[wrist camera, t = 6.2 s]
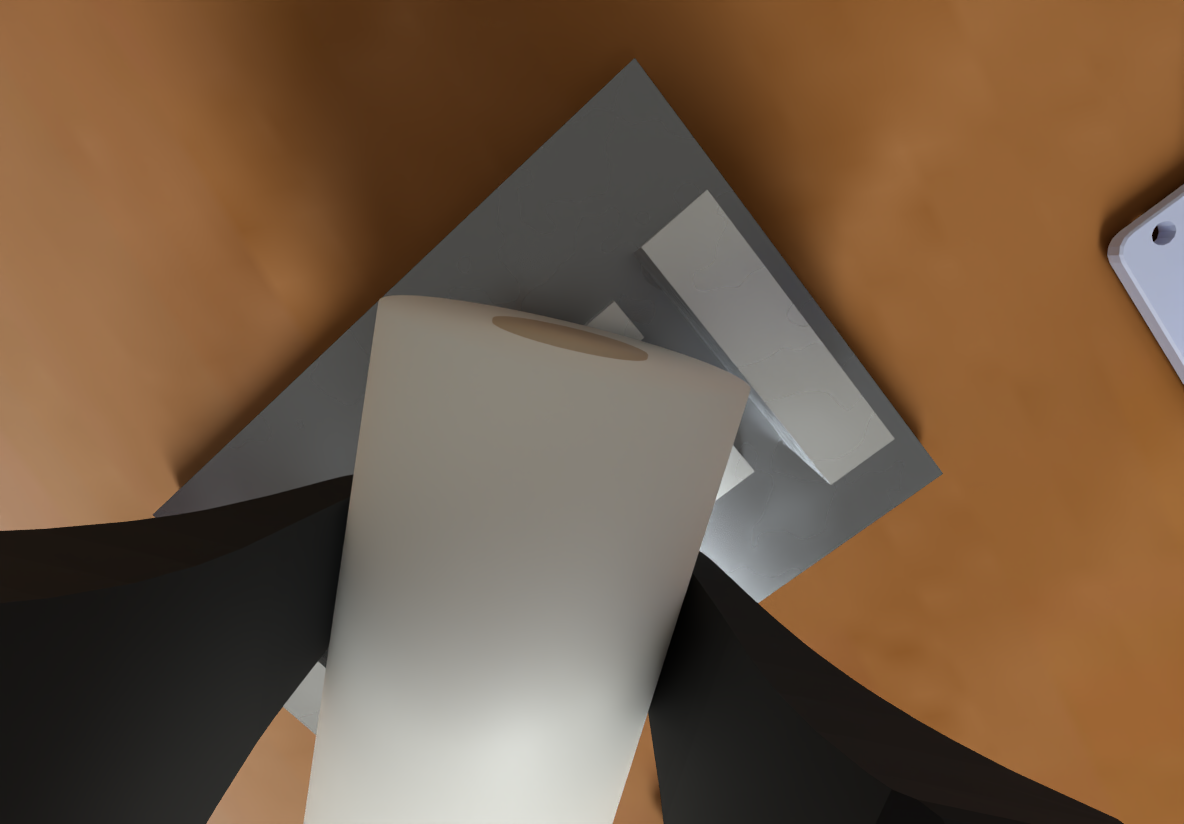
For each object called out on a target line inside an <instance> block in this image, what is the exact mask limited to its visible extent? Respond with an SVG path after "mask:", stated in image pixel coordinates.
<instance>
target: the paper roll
mask: <svg viewBox="0 0 1184 824" xmlns="http://www.w3.org/2000/svg"><path fill="white" fill-rule="evenodd" d="M750 390H751V388H750V386H749V385H748V384H747V383H746V382H745V381H743V380H742V379H740V378H739V377H737V376H735V375H733V374H731V373H729V372H727V371H725V370H723V369H720V368H718V367H716V366H713V365H711V364H708V363H706V362H703V361H700V360H698V359H695V358H692V357H690V356H687V355H684V354H681V353H678V352H675V351H672V350H669V349H666V348H663V347H660V346H656V345H653V344H650V343H646V342H643V341H640V340H636V339H633V338H629V337H626V336H622V335H619V334H615V333H611V332H607V331H604V330H600V329H596V328H592V327H588V326H584V325H580V324H576V323H572V322H568V321H564V320H559V319H555V318H550V317H546V316H541V315H537V314H532V313H527V312H523V311H518V310H513V309H507V308H502V307H497V306H491V305H485V304H480V303H474V302H467V301H461V300H453V299H446V298H437V297H428V296H415V295H392V296H386V297H383V298H380V299H379V301H378V307H377V314H376V321H375V328H374V335H373V342H372V349H371V356H370V363H369V370H368V377H367V384H366V391H365V398H364V405H363V412H362V419H361V426H360V433H359V440H358V447H357V454H356V461H355V468H354V475H353V482H352V489H351V496H350V503H349V510H348V517H347V524H346V531H345V538H344V545H343V552H342V559H341V566H340V573H339V580H338V587H337V594H336V601H335V608H334V615H333V622H332V629H331V636H330V643H329V650H328V657H327V664H326V671H325V678H324V685H323V692H322V699H321V706H320V713H319V720H318V727H317V734H316V741H315V748H314V755H313V762H312V769H311V776H310V783H309V790H308V797H307V804H306V810H305V817H304V824H612V823H613V820H614V817H615V814H616V811H617V808H618V805H619V801H620V798H621V795H622V792H623V789H624V786H625V783H626V779H627V776H628V773H629V770H630V767H631V764H632V761H633V757H634V754H635V751H636V748H637V745H638V742H639V739H640V735H641V732H642V729H643V726H644V723H645V720H646V717H647V713H648V710H649V707H650V704H651V701H652V698H653V695H654V691H655V688H656V685H657V682H658V679H659V676H660V673H661V669H662V666H663V663H664V660H665V657H666V654H667V651H668V648H669V644H670V641H671V638H672V635H673V632H674V629H675V626H676V622H677V619H678V616H679V613H680V610H681V607H682V604H683V600H684V597H685V594H686V591H687V588H688V585H689V582H690V578H691V575H692V572H693V569H694V566H695V563H696V560H697V556H698V553H699V550H700V547H701V544H702V541H703V538H704V534H705V531H706V528H707V525H708V522H709V519H710V516H711V512H712V509H713V506H714V503H715V500H716V497H717V494H718V491H719V487H720V484H721V481H722V478H723V475H724V472H725V469H726V465H727V462H728V459H729V456H730V453H731V450H732V447H733V443H734V440H735V437H736V434H737V431H738V428H739V425H740V421H741V418H742V415H743V412H744V409H745V406H746V403H747V399H748V396H749V393H750Z"/></svg>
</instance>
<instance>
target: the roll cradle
mask: <svg viewBox="0 0 1184 824" xmlns="http://www.w3.org/2000/svg"><path fill="white" fill-rule="evenodd" d="M392 295H415V296H428V297H437V298H446V299H453V300H461V301H467V302H474V303H480V304H485V305H491V306H497V307H502V308H507V309H513V310H518V311H523V312H527V313H532V314H537V315H541V316H546V317H550V318H555V319H559V320H564V321H568V322H572V323H576V324H580V325H584V326H588V327H592V328H596V329H600V330H604V331H607V332H611V333H615V334H619V335H622V336H626V337H629V338H633V339H636V340H640V341H643V342H646V343H650V344H653V345H656V346H660V347H663V348H666V349H669V350H672V351H675V352H678V353H681V354H684V355H687V356H690V357H692V358H695V359H698V360H700V361H703V362H706V363H708V364H711V365H713V366H716V367H718V368H720V369H723V370H725V371H727V372H729V373H731V374H733V375H735V376H737V377H739V378H740V379H742V380H743V381H745V382H746V383H747V384H748V385H749V386H750V388H751V390H750V393H749V396H748V399H747V403H746V406H745V409H744V412H743V415H742V418H741V421H740V425H739V428H738V431H737V434H736V437H735V440H734V443H733V447H732V450H731V453H730V456H729V459H728V462H727V465H726V469H725V472H724V475H723V478H722V481H721V484H720V487H719V491H718V494H717V497H716V500H715V503H714V506H713V509H712V512H711V516H710V519H709V522H708V525H707V528H706V531H705V534H704V538H703V541H702V544H701V547H700V550H699V551H700V552H702V553H703V554H705V555H706V556H707V557H709V558H710V559H711V560H712V561H713V562H714V563H715V564H717V565H718V566H719V567H720V568H721V569H722V570H723V571H724V572H725V573H726V574H727V575H728V576H729V577H730V578H731V579H733V580H734V581H735V582H736V583H737V584H738V585H739V586H740V587H741V588H742V589H743V590H744V591H745V592H746V593H747V594H748V595H749V596H751V597H752V598H753V599H754V600H755V601H756V602H757V603H759V602H760V601H762V600H763V599H764V598H766V597H767V596H769V595H770V594H772V593H773V592H774V591H776V590H777V589H779V588H780V587H782V586H783V585H784V584H786V583H787V582H789V581H790V580H792V579H793V578H794V577H796V576H797V575H799V574H800V573H802V572H803V571H804V570H806V569H807V568H809V567H810V566H812V565H813V564H814V563H816V562H817V561H819V560H820V559H822V558H823V557H824V556H826V555H827V554H829V553H830V552H832V551H833V550H834V549H836V548H837V547H839V546H840V545H842V544H843V543H844V542H846V541H847V540H849V539H850V538H852V537H853V536H855V535H856V534H857V533H859V532H860V531H862V530H863V529H865V528H866V527H867V526H869V525H870V524H872V523H873V522H875V521H876V520H877V519H879V518H880V517H882V516H883V515H885V514H886V513H887V512H889V511H890V510H892V509H893V508H895V507H896V506H897V505H899V504H900V503H902V502H903V501H905V500H906V499H907V498H909V497H910V496H912V495H913V494H915V493H916V492H917V491H919V490H920V489H922V488H923V487H925V486H926V485H927V484H929V483H930V482H932V481H933V480H935V479H936V478H937V477H939V476H940V475H942V474H943V473H942V472H941V470H940V469H939V468H938V466H937V465H936V464H935V462H934V461H933V459H932V458H931V457H930V455H929V454H928V453H927V451H926V450H925V449H924V447H923V446H922V445H921V443H920V442H919V441H918V439H917V438H916V437H915V435H914V434H913V433H912V431H911V430H910V428H909V427H908V426H907V424H906V423H905V422H904V420H903V419H902V418H901V416H900V415H899V414H898V412H897V411H896V410H895V408H894V407H893V406H892V404H891V403H890V402H889V400H888V399H887V397H886V396H885V395H884V393H883V392H882V391H881V389H880V388H879V387H878V385H877V384H876V383H875V381H874V380H873V379H872V377H871V376H870V375H869V373H868V372H867V370H866V369H865V368H864V366H863V365H862V364H861V362H860V361H859V360H858V358H857V357H856V356H855V354H854V353H853V352H852V350H851V349H850V348H849V346H848V345H847V344H846V342H845V341H844V339H843V338H842V337H841V335H840V334H839V333H838V331H837V330H836V329H835V327H834V326H833V325H832V323H831V322H830V321H829V319H828V318H827V317H826V315H825V314H824V313H823V311H822V310H821V308H820V307H819V306H818V304H817V303H816V302H815V300H814V299H813V298H812V296H811V295H810V294H809V292H808V291H807V290H806V288H805V287H804V286H803V284H802V283H801V282H800V280H799V279H798V277H797V276H796V275H795V273H794V272H793V271H792V269H791V268H790V267H789V265H788V264H787V263H786V261H785V260H784V259H783V257H782V256H781V255H780V253H779V252H778V251H777V249H776V248H775V246H774V245H773V244H772V242H771V241H770V240H769V238H768V237H767V236H766V234H765V233H764V232H763V230H762V229H761V228H760V226H759V225H758V224H757V222H756V221H755V219H754V218H753V217H752V215H751V214H750V213H749V211H748V210H747V209H746V207H745V206H744V205H743V203H742V202H741V201H740V199H739V198H738V197H737V195H736V194H735V193H734V191H733V190H732V188H731V187H730V186H729V184H728V183H727V182H726V180H725V179H724V178H723V176H722V175H721V174H720V172H719V171H718V170H717V168H716V167H715V166H714V164H713V163H712V162H711V160H710V159H709V157H708V156H707V155H706V153H705V152H704V151H703V149H702V148H701V147H700V145H699V144H698V143H697V141H696V140H695V139H694V137H693V136H692V135H691V133H690V132H689V131H688V129H687V128H686V126H685V125H684V124H683V122H682V121H681V120H680V118H679V117H678V116H677V114H676V113H675V112H674V110H673V109H672V108H671V106H670V105H669V104H668V102H667V101H666V100H665V98H664V97H663V95H662V94H661V93H660V91H659V90H658V89H657V87H656V86H655V85H654V83H653V82H652V81H651V79H650V78H649V77H648V75H647V74H646V73H645V71H644V70H643V68H642V67H641V66H640V64H639V63H638V62H637V60H636V59H635V58H634V59H633V60H632V61H631V62H630V63H629V64H628V65H627V66H626V67H624V68H623V69H622V70H621V71H620V72H619V73H618V74H617V75H616V76H615V77H614V78H613V79H612V80H611V81H610V82H609V83H608V84H607V85H606V86H604V87H603V88H602V89H601V90H600V91H599V92H598V93H597V94H596V95H595V96H594V97H593V98H592V99H591V100H590V101H589V102H588V103H587V104H585V105H584V106H583V107H582V108H581V109H580V110H579V111H578V112H577V113H576V114H575V115H574V116H573V117H572V118H571V119H570V120H569V121H568V122H566V123H565V124H564V125H563V126H562V127H561V128H560V129H559V130H558V131H557V132H556V133H555V134H554V135H553V136H552V137H551V138H550V139H549V140H548V141H546V142H545V143H544V144H543V145H542V146H541V147H540V148H539V149H538V150H537V151H536V152H535V153H534V154H533V155H532V156H531V157H530V158H529V159H527V160H526V161H525V162H524V163H523V164H522V165H521V166H520V167H519V168H518V169H517V170H516V171H515V172H514V173H513V174H512V175H511V176H510V177H508V178H507V179H506V180H505V181H504V182H503V183H502V184H501V185H500V186H499V187H498V188H497V189H496V190H495V191H494V192H493V193H492V194H491V195H489V196H488V197H487V198H486V199H485V200H484V201H483V202H482V203H481V204H480V205H479V206H478V207H477V208H476V209H475V210H474V211H473V212H472V213H471V214H469V215H468V216H467V217H466V218H465V219H464V220H463V221H462V222H461V223H460V224H459V225H458V226H457V227H456V228H455V229H454V230H453V231H452V232H450V233H449V234H448V235H447V236H446V237H445V238H444V239H443V240H442V241H441V242H440V243H439V244H438V245H437V246H436V247H435V248H434V249H433V250H431V251H430V252H429V253H428V254H427V255H426V256H425V257H424V258H423V259H422V260H421V261H420V262H419V263H418V264H417V265H416V266H415V267H414V268H413V269H411V270H410V271H409V272H408V273H407V274H406V275H405V276H404V277H403V278H402V279H401V280H400V281H399V282H398V283H397V284H396V285H395V286H394V287H392V288H391V289H390V290H389V291H388V292H387V293H386V294H385V295H384V296H383V297H386V296H392ZM383 297H382V298H383ZM377 307H378V302H377V303H376V304H375V305H373V306H372V307H371V308H370V309H369V310H368V311H367V312H366V313H365V314H364V315H363V316H362V317H361V318H360V319H359V320H358V321H357V322H356V323H355V324H353V325H352V326H351V327H350V328H349V329H348V330H347V331H346V332H345V333H344V334H343V335H342V336H341V337H340V338H339V339H338V340H337V341H336V342H334V343H333V344H332V345H331V346H330V347H329V348H328V349H327V350H326V351H325V352H324V353H323V354H322V355H321V356H320V357H319V358H318V359H317V360H315V361H314V362H313V363H312V364H311V365H310V366H309V367H308V368H307V369H306V370H305V371H304V372H303V373H302V374H301V375H300V376H299V377H298V378H297V379H295V380H294V381H293V382H292V383H291V384H290V385H289V386H288V387H287V388H286V389H285V390H284V391H283V392H282V393H281V394H280V395H279V396H278V397H276V398H275V399H274V400H273V401H272V402H271V403H270V404H269V405H268V406H267V407H266V408H265V409H264V410H263V411H262V412H261V413H260V414H259V415H257V416H256V417H255V418H254V419H253V420H252V421H251V422H250V423H249V424H248V425H247V426H246V427H245V428H244V429H243V430H242V431H241V432H240V433H238V434H237V435H236V436H235V437H234V438H233V439H232V440H231V441H230V442H229V443H228V444H227V445H226V446H225V447H224V448H223V449H222V450H221V451H220V452H218V453H217V454H216V455H215V456H214V457H213V458H212V459H211V460H210V461H209V462H208V463H207V464H206V465H205V466H204V467H203V468H202V469H201V470H199V471H198V472H197V473H196V474H195V475H194V476H193V477H192V478H191V479H190V480H189V481H188V482H187V483H186V484H185V485H184V486H183V487H182V488H180V489H179V490H178V491H177V492H176V493H175V494H174V495H173V496H172V497H171V498H170V499H169V500H168V501H167V502H166V503H165V504H164V505H163V506H162V507H160V508H159V509H158V510H157V511H156V512H155V513H154V514H153V516H154V517H156V518H157V517H164V516H171V515H178V514H184V513H189V512H195V511H201V510H206V509H211V508H216V507H220V506H225V505H229V504H233V503H238V502H242V501H247V500H251V499H255V498H260V497H264V496H269V495H273V494H277V493H280V492H284V491H288V490H292V489H295V488H299V487H303V486H307V485H311V484H314V483H318V482H322V481H326V480H330V479H334V478H338V477H342V476H347V475H352V474H354V468H355V461H356V454H357V447H358V440H359V433H360V426H361V419H362V412H363V405H364V398H365V391H366V384H367V377H368V370H369V363H370V356H371V349H372V342H373V335H374V328H375V321H376V314H377ZM328 650H329V647H328V649H327V650H326V651H325V653H324V654H323V655H322V657H321V658H320V659H319V660H318V662H317V663H316V664H315V666H314V667H313V668H312V670H311V671H310V672H309V673H308V675H307V676H306V677H305V679H304V680H303V681H302V682H301V684H300V685H299V686H298V688H297V689H296V690H295V692H294V693H293V694H292V695H291V697H290V698H289V699H288V701H287V702H286V703H285V704H284V706H283V707H284V708H285V709H287V710H288V711H289V712H290V713H291V714H292V715H294V716H295V717H296V718H297V719H298V720H299V721H301V722H302V723H303V724H304V725H305V726H306V727H307V728H309V729H310V730H311V731H312V732H313V733H314V734H317V727H318V720H319V713H320V706H321V699H322V692H323V685H324V678H325V671H326V664H327V657H328Z"/></svg>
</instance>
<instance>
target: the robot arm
mask: <svg viewBox="0 0 1184 824" xmlns="http://www.w3.org/2000/svg"><path fill="white" fill-rule="evenodd" d="M1156 226H1157V227H1158V231H1159V234H1158V237H1157V239H1156V240H1155V241H1154V242H1153V239H1152V233H1153V230H1154V228H1155V227H1156ZM1107 256H1108V259H1109V263H1110V264H1111V266H1112V268H1113V269H1114V271H1115V273H1116V274H1117V276H1118V278H1119V279H1120V281H1121V282H1122V284H1123V286H1124V287H1125V289H1126V291H1127V292H1128V294H1129V296H1130V297H1131V299H1132V300H1133V302H1134V304H1135V305H1136V307H1137V309H1138V310H1139V312H1140V314H1141V315H1142V317H1143V318H1144V320H1145V322H1146V323H1147V325H1148V327H1149V328H1150V330H1151V332H1152V333H1153V335H1154V337H1155V338H1156V340H1157V341H1158V343H1159V345H1160V346H1161V348H1162V350H1163V351H1164V353H1165V355H1166V356H1167V358H1168V359H1169V361H1170V363H1171V364H1172V366H1173V368H1174V369H1175V371H1176V373H1177V374H1178V376H1179V377H1180V379H1181V381H1182V382H1183V384H1184V184H1183V185H1182V186H1180V187H1179V188H1178V189H1176V190H1175V191H1174V192H1172V193H1171V194H1170V195H1168V196H1167V197H1166V198H1164V199H1163V200H1161V201H1160V202H1159V203H1157V204H1156V205H1155V206H1153V207H1152V208H1151V209H1149V210H1148V211H1147V212H1145V213H1144V214H1143V215H1141V216H1140V217H1138V218H1137V219H1136V220H1134V221H1133V222H1132V223H1130V224H1129V225H1128V226H1126V227H1125V228H1124V229H1122V230H1121V231H1120V232H1118V233H1117V234H1116V235H1115V236H1114V237H1113V238H1112V240H1111V242H1110V244H1109V246H1108V253H1107ZM353 475H354V474H352V475H347V476H342V477H338V478H334V479H330V480H326V481H322V482H318V483H314V484H311V485H307V486H303V487H299V488H295V489H292V490H288V491H284V492H280V493H277V494H273V495H269V496H264V497H260V498H255V499H251V500H247V501H242V502H238V503H233V504H229V505H225V506H220V507H216V508H211V509H206V510H201V511H195V512H189V513H184V514H178V515H171V516H164V517H157V518H151V519H144V520H136V521H128V522H118V523H106V524H95V525H84V526H73V527H62V528H50V529H35V530H13V531H0V824H206V823H207V821H208V820H209V818H210V816H211V815H212V813H213V811H214V810H215V808H216V806H217V805H218V803H219V802H220V800H221V798H222V797H223V795H224V794H225V792H226V790H227V789H228V787H229V786H230V784H231V783H232V781H233V779H234V778H235V776H236V775H237V773H238V771H239V770H240V768H241V767H242V765H243V763H244V762H245V760H246V759H247V757H248V756H249V754H250V752H251V751H252V749H253V748H254V746H255V744H256V743H257V741H258V740H259V739H260V737H261V736H262V734H263V733H264V732H265V730H266V729H267V727H268V726H269V725H270V723H271V722H272V720H273V719H274V717H275V716H276V715H277V714H278V712H279V711H280V710H281V708H282V707H283V706H284V704H285V703H286V702H287V701H288V699H289V698H290V697H291V695H292V694H293V693H294V692H295V690H296V689H297V688H298V686H299V685H300V684H301V682H302V681H303V680H304V679H305V677H306V676H307V675H308V673H309V672H310V671H311V670H312V668H313V667H314V666H315V664H316V663H317V662H318V660H319V659H320V658H321V657H322V655H323V654H324V653H325V651H326V650H327V649H328V647H329V643H330V636H331V629H332V622H333V615H334V608H335V601H336V594H337V587H338V580H339V573H340V566H341V559H342V552H343V545H344V538H345V531H346V524H347V517H348V510H349V503H350V496H351V489H352V482H353ZM648 714H649V721H650V728H651V734H652V741H653V748H654V754H655V761H656V768H657V774H658V781H659V788H660V795H661V803H662V813H663V822H664V824H1123V823H1122V822H1121V821H1119V820H1118V819H1116V818H1114V817H1112V816H1109V815H1107V814H1105V813H1103V812H1101V811H1098V810H1096V809H1094V808H1092V807H1090V806H1088V805H1085V804H1083V803H1081V802H1079V801H1077V800H1074V799H1072V798H1070V797H1068V796H1066V795H1063V794H1061V793H1059V792H1057V791H1055V790H1053V789H1050V788H1048V787H1046V786H1044V785H1042V784H1039V783H1037V782H1035V781H1033V780H1031V779H1028V778H1026V777H1024V776H1022V775H1020V774H1018V773H1015V772H1013V771H1011V770H1009V769H1007V768H1005V767H1003V766H1001V765H999V764H998V763H996V762H994V761H992V760H990V759H988V758H986V757H984V756H982V755H980V754H978V753H976V752H975V751H973V750H971V749H969V748H967V747H965V746H963V745H961V744H959V743H957V742H955V741H954V740H952V739H950V738H948V737H946V736H945V735H943V734H941V733H939V732H937V731H936V730H934V729H932V728H930V727H929V726H927V725H925V724H923V723H921V722H920V721H918V720H916V719H915V718H913V717H911V716H910V715H908V714H907V713H905V712H903V711H902V710H900V709H898V708H897V707H895V706H894V705H892V704H890V703H889V702H887V701H885V700H884V699H882V698H881V697H879V696H877V695H876V694H874V693H873V692H871V691H870V690H868V689H867V688H865V687H864V686H862V685H861V684H859V683H858V682H856V681H855V680H853V679H852V678H850V677H849V676H848V675H846V674H845V673H843V672H842V671H841V670H839V669H838V668H836V667H835V666H834V665H832V664H831V663H830V662H828V661H827V660H825V659H824V658H823V657H821V656H820V655H819V654H817V653H816V652H815V651H813V650H812V649H811V648H810V647H808V646H807V645H806V644H804V643H803V642H802V641H801V640H800V639H798V638H797V637H796V636H795V635H794V634H792V633H791V632H790V631H789V630H788V629H786V628H785V627H784V626H783V625H782V624H781V623H779V622H778V621H777V620H776V619H775V618H774V617H772V616H771V615H770V614H769V613H768V612H767V611H766V610H765V609H764V608H762V607H761V606H760V605H759V604H758V603H757V602H756V601H755V600H754V599H753V598H752V597H751V596H749V595H748V594H747V593H746V592H745V591H744V590H743V589H742V588H741V587H740V586H739V585H738V584H737V583H736V582H735V581H734V580H733V579H731V578H730V577H729V576H728V575H727V574H726V573H725V572H724V571H723V570H722V569H721V568H720V567H719V566H718V565H717V564H715V563H714V562H713V561H712V560H711V559H710V558H709V557H707V556H706V555H705V554H703V553H702V552H700V551H699V553H698V556H697V560H696V563H695V566H694V569H693V572H692V575H691V578H690V582H689V585H688V588H687V591H686V594H685V597H684V600H683V604H682V607H681V610H680V613H679V616H678V619H677V622H676V626H675V629H674V632H673V635H672V638H671V641H670V644H669V648H668V651H667V654H666V657H665V660H664V663H663V666H662V669H661V673H660V676H659V679H658V682H657V685H656V688H655V691H654V695H653V698H652V701H651V704H650V707H649V710H648Z"/></svg>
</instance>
